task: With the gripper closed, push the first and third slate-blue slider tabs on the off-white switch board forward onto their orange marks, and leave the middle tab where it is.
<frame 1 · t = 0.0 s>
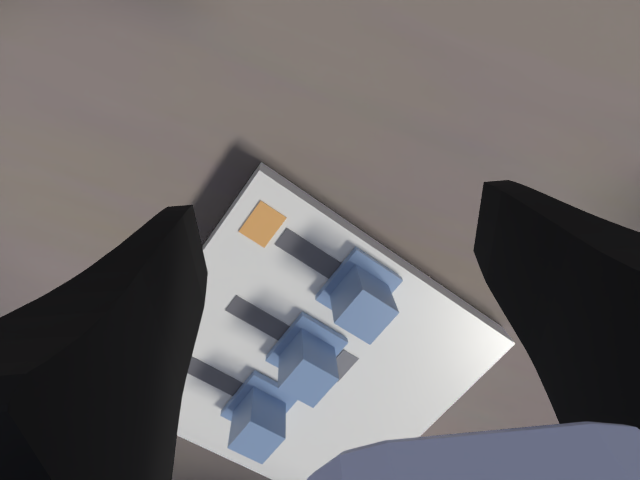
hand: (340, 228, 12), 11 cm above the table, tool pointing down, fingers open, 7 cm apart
switch tab 2: (307, 364, 23), point 3 cm above the table, slide at 0.0 cm
switch board: (306, 353, 26), on the table
switch tab 3: (362, 301, 21), point 3 cm above the table, slide at 0.0 cm
switch tab 1: (258, 421, 24), point 3 cm above the table, slide at 0.0 cm
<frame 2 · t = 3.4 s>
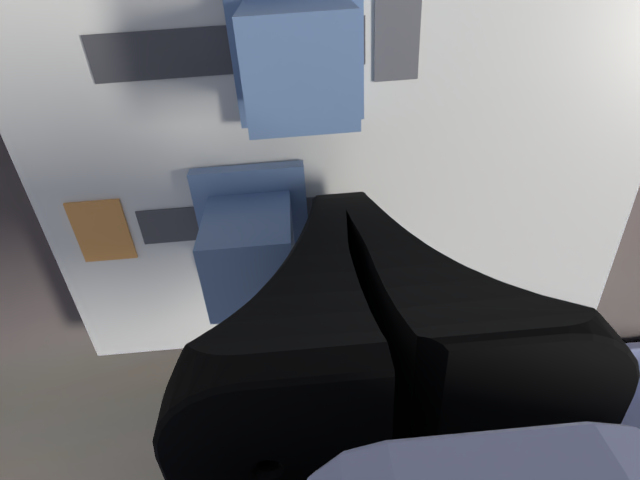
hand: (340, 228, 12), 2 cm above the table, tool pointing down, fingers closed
switch tab 2: (298, 60, 9), point 3 cm above the table, slide at 0.0 cm
switch board: (337, 82, 12), on the table
switch tab 1: (252, 249, 11), point 3 cm above the table, slide at 1.5 cm, touching gripper
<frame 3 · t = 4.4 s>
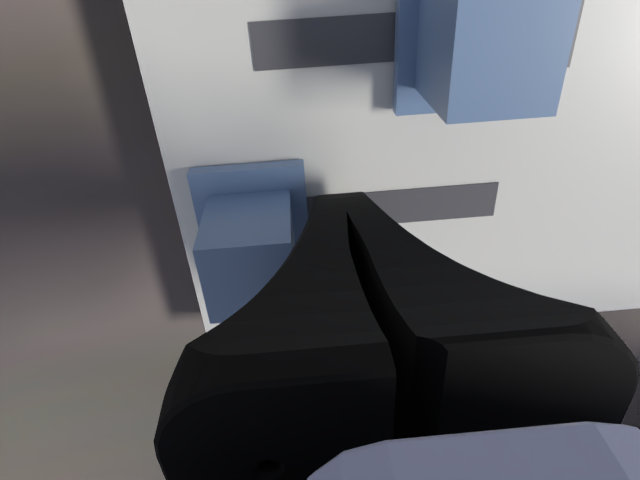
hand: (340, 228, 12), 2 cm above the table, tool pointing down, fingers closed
switch tab 2: (481, 46, 9), point 3 cm above the table, slide at 0.0 cm
switch board: (471, 71, 12), on the table
switch tab 1: (251, 249, 11), point 3 cm above the table, slide at 5.0 cm, touching gripper
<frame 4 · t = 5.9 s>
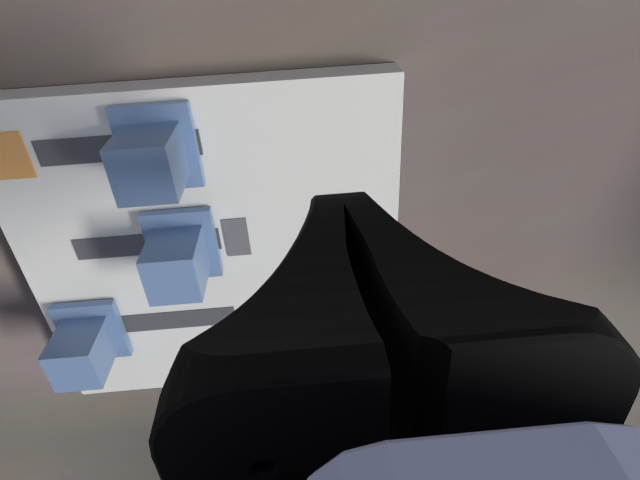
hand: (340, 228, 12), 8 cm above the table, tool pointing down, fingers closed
switch tab 2: (177, 261, 18), point 3 cm above the table, slide at 0.0 cm
switch board: (217, 244, 22), on the table
switch tab 3: (150, 160, 16), point 3 cm above the table, slide at 0.0 cm
switch tab 1: (83, 350, 21), point 3 cm above the table, slide at 5.0 cm
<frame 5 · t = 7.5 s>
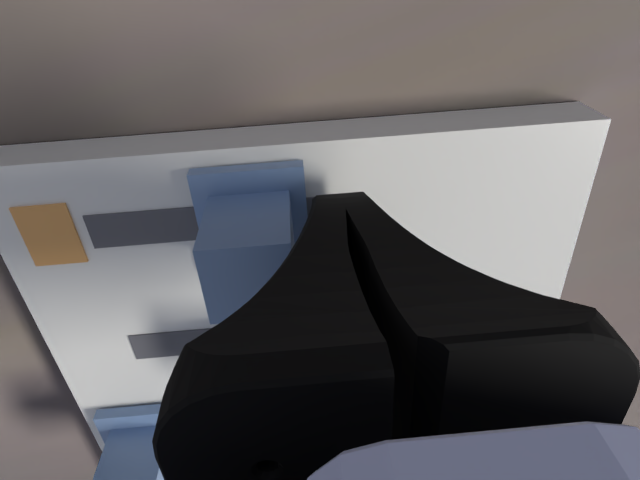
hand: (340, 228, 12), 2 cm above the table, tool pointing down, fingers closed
switch board: (308, 327, 17), on the table
switch tab 3: (251, 249, 11), point 3 cm above the table, slide at 0.1 cm, touching gripper
switch tab 1: (139, 471, 16), point 3 cm above the table, slide at 5.0 cm
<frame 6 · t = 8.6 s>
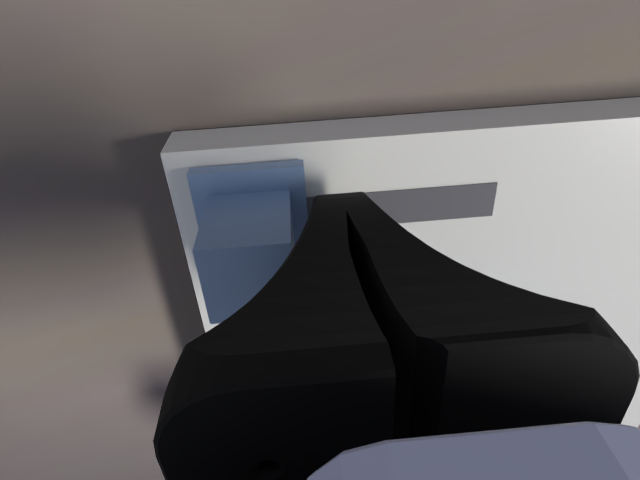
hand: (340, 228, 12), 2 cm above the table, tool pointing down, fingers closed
switch board: (442, 315, 17), on the table
switch tab 3: (251, 249, 11), point 3 cm above the table, slide at 5.0 cm, touching gripper
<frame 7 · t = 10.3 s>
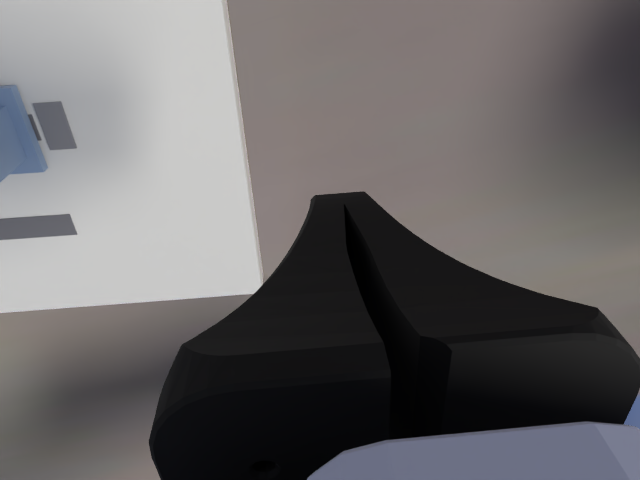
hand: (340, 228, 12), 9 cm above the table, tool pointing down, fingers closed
switch board: (51, 144, 20), on the table
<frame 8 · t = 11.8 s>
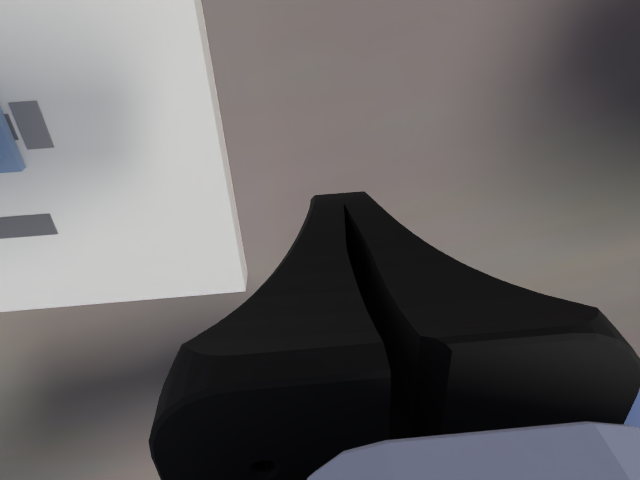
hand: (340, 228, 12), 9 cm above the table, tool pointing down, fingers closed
switch board: (30, 144, 20), on the table
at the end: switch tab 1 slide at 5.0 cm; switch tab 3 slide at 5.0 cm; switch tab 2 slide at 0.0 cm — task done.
